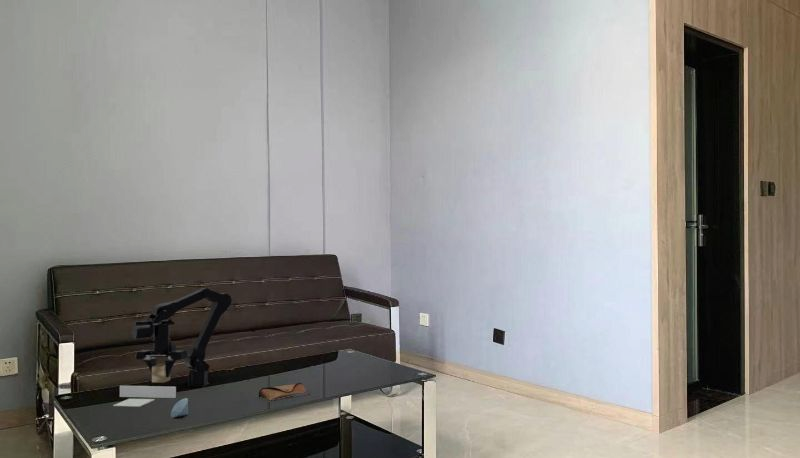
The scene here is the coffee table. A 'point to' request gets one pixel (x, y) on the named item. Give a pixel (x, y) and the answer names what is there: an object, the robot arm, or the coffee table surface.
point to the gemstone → (180, 408)
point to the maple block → (159, 373)
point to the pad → (134, 402)
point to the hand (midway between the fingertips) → (161, 377)
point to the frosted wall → (148, 391)
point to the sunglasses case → (281, 391)
